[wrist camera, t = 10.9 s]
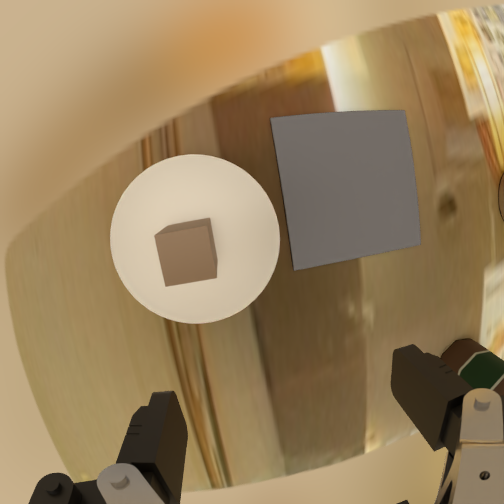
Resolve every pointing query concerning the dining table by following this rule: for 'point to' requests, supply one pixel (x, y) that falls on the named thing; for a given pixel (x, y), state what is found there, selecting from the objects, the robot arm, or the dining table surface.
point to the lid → (195, 238)
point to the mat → (346, 184)
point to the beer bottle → (476, 365)
